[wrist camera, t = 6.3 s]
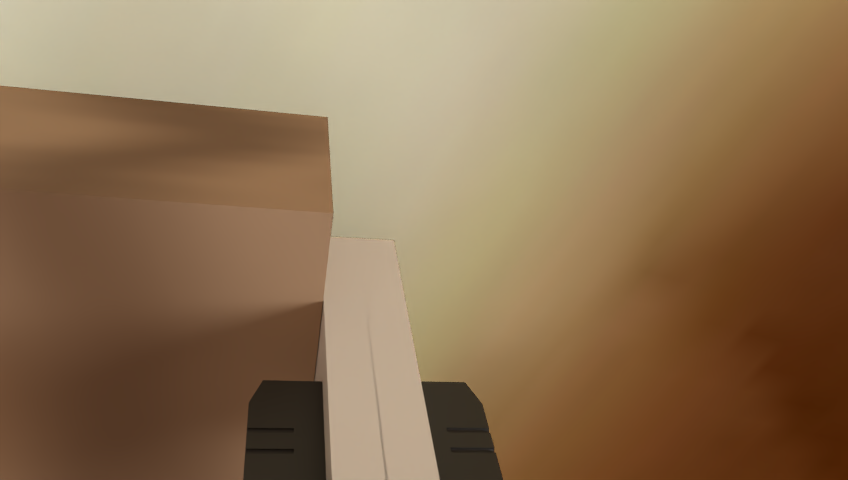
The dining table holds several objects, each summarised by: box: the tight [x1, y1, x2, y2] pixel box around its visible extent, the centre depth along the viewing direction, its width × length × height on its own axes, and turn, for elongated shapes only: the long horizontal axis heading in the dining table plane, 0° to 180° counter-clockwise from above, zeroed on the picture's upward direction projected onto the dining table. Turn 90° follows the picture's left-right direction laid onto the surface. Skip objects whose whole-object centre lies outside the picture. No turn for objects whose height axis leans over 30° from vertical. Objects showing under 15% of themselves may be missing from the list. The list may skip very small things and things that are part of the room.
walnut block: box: [0, 86, 333, 480], centre depth 15 cm, size 7×7×4 cm
